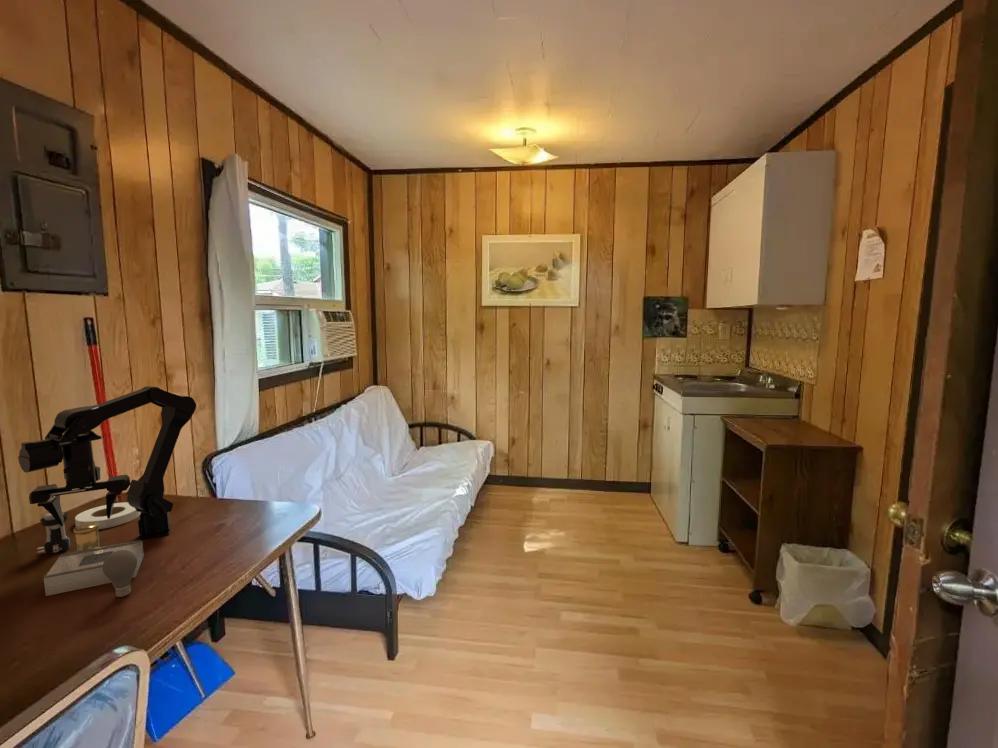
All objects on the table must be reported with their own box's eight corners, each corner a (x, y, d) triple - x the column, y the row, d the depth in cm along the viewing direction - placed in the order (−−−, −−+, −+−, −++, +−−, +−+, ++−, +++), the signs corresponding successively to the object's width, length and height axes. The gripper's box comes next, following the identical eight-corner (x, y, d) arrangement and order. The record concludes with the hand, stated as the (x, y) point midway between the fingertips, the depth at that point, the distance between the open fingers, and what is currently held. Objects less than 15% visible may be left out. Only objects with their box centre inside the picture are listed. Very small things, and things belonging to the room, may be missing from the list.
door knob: (104, 551, 132) (101, 521, 131) (99, 559, 127) (96, 528, 126) (79, 555, 129) (76, 525, 128) (74, 564, 125) (70, 532, 124)
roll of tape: (105, 510, 160) (104, 501, 160) (152, 510, 160) (151, 501, 159) (61, 531, 145) (60, 521, 145) (113, 531, 144) (112, 521, 144)
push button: (34, 558, 128) (29, 519, 127) (41, 549, 133) (36, 512, 132) (68, 552, 131) (63, 514, 130) (74, 544, 136) (69, 507, 135)
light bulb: (135, 585, 114) (130, 542, 113) (144, 594, 111) (139, 550, 109) (102, 596, 110) (97, 552, 109) (110, 606, 106) (105, 560, 105)
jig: (143, 556, 128) (141, 539, 128) (135, 577, 118) (133, 559, 117) (62, 571, 121) (60, 554, 121) (45, 596, 110) (43, 577, 110)
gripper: (130, 448, 137) (137, 504, 139) (40, 458, 128) (48, 518, 130) (122, 458, 127) (129, 518, 129) (24, 470, 118) (33, 534, 120)
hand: (86, 521), depth 127 cm, fingers open, 9 cm apart
